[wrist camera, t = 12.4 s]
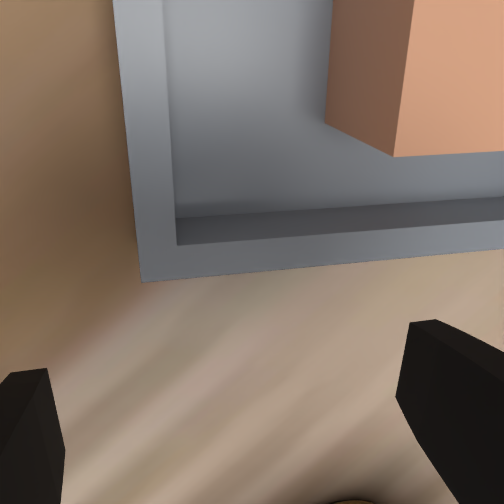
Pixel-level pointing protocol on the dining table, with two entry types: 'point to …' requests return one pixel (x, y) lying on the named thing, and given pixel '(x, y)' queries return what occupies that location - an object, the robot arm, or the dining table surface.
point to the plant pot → (354, 502)
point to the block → (418, 75)
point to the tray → (273, 151)
